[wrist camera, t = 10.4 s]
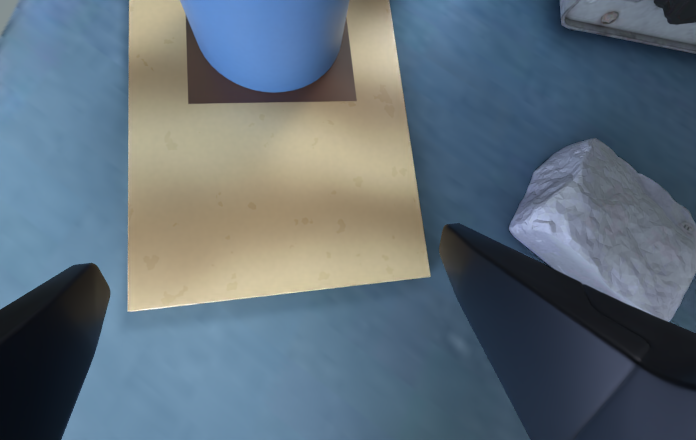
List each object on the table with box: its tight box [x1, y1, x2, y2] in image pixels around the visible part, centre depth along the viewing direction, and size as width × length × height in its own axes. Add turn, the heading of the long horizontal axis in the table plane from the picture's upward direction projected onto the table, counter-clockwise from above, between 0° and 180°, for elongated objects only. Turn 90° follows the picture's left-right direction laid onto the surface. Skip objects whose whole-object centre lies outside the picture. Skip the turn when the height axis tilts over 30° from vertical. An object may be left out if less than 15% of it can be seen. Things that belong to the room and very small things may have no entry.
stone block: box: [509, 138, 696, 321], centre depth 24 cm, size 12×5×10 cm
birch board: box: [128, 0, 431, 312], centre depth 23 cm, size 27×18×1 cm, turn 6°
